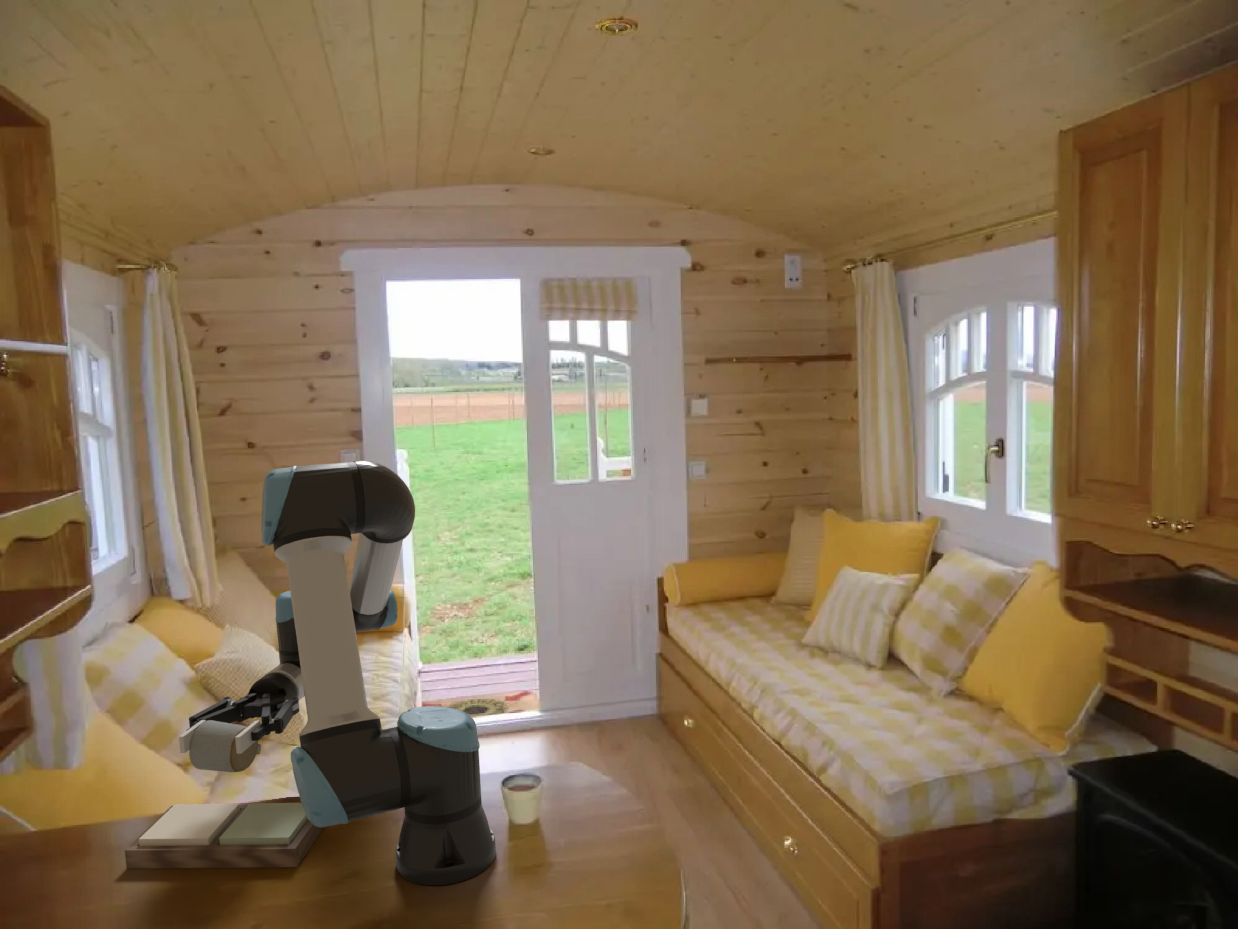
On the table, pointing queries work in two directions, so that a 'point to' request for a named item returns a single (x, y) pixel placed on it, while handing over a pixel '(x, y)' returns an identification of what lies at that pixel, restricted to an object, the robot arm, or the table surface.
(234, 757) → the ceramic mug
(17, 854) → the table surface
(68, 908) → the table surface
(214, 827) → the cream key
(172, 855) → the key pad frame
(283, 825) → the sage key
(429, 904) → the table surface
